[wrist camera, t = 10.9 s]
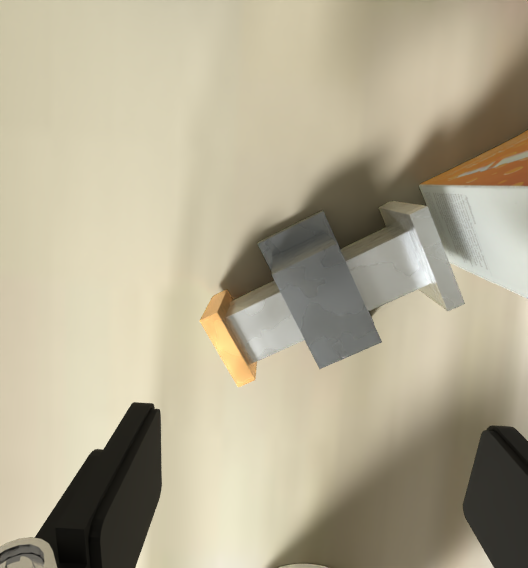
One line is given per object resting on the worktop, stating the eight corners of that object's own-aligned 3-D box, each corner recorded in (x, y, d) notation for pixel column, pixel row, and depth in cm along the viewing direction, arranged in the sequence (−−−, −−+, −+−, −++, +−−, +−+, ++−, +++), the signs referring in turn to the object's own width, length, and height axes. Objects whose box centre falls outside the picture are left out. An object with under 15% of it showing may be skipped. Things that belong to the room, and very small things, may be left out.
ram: (423, 277, 26) (465, 303, 21) (247, 356, 28) (240, 400, 23) (392, 200, 25) (427, 206, 19) (209, 289, 27) (192, 318, 21)
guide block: (370, 318, 28) (397, 356, 22) (310, 345, 29) (320, 388, 23) (321, 210, 26) (336, 218, 20) (257, 241, 27) (253, 259, 20)
